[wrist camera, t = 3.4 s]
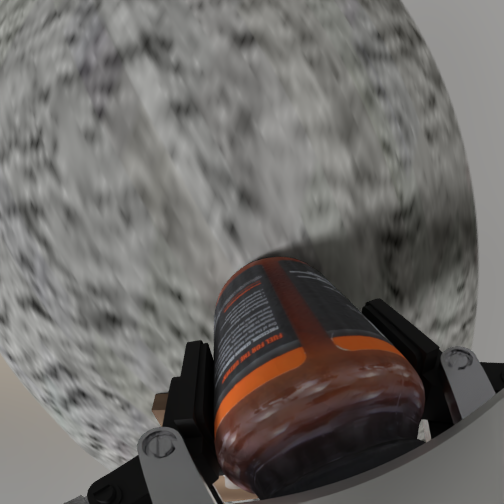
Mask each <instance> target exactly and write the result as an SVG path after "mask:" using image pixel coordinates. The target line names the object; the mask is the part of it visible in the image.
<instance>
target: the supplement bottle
mask: <svg viewBox="0 0 504 504" xmlns="http://www.w3.org/2000/svg"><path fill="white" fill-rule="evenodd" d="M213 372H214V376H213V383H214V388H213V391H214V403H213V412H214V434H215V449H216V455H217V459H218V463H219V465H220V467H221V469H222V471H223V473H224V474H225V476H226V477H227V478H228V479H229V480H230V481H231V482H233V484H235V485H236V486H238V487H240V488H241V489H243V490H245V491H247V492H249V493H252V494H255V495H257V497H258V498H259V499H260V500H265V499H271V498H277V497H282V496H287V495H291V494H296V493H300V492H304V491H308V490H312V489H315V488H319V487H322V486H326V485H329V484H332V483H336V482H339V481H342V480H345V479H347V478H350V477H353V476H356V475H358V474H361V473H364V472H366V471H369V470H371V469H374V468H376V467H378V466H381V465H383V464H385V463H387V462H389V461H392V460H394V459H396V458H398V457H400V456H402V455H404V454H406V453H408V452H410V451H412V450H414V449H415V448H417V447H419V446H421V445H423V444H425V443H426V442H424V441H420V440H419V439H417V436H418V429H419V423H420V421H421V419H422V416H423V413H424V406H425V391H424V386H423V383H422V380H421V379H420V377H419V375H418V373H417V372H416V371H415V369H414V368H413V367H412V365H411V364H410V363H409V362H408V360H407V359H406V358H405V357H404V356H403V355H402V354H401V353H400V352H399V351H398V350H397V349H396V348H395V347H394V345H393V344H392V343H391V342H390V341H389V340H388V339H387V338H386V337H385V336H384V335H383V334H382V333H381V332H380V331H379V330H378V329H377V328H376V327H375V326H374V325H373V324H372V323H371V322H370V321H369V320H368V319H367V318H366V317H365V316H364V315H363V314H362V313H361V312H360V311H359V310H358V309H357V308H356V307H355V306H354V305H353V304H352V303H351V302H350V301H349V300H348V299H347V298H346V297H345V296H343V295H342V293H341V292H339V291H338V290H337V289H336V288H335V287H334V286H333V285H332V284H331V283H330V282H329V281H328V280H327V279H326V278H325V277H324V276H323V275H322V274H321V273H319V272H318V271H317V270H315V269H314V268H313V267H311V266H309V265H308V264H306V263H304V262H302V261H300V260H297V259H294V258H288V257H270V258H265V259H260V260H257V261H254V262H252V263H249V264H248V265H246V266H244V267H243V268H241V269H240V270H239V271H237V272H236V273H235V274H234V275H233V276H232V277H231V278H230V279H229V280H228V281H227V283H226V284H225V285H224V287H223V289H222V290H221V292H220V294H219V297H218V300H217V303H216V309H215V315H214V367H213Z"/></svg>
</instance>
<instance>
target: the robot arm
mask: <svg viewBox="0 0 504 504" xmlns="http://www.w3.org/2000/svg"><path fill="white" fill-rule="evenodd" d="M362 314H363V315H364V316H365V317H366V318H367V319H368V320H369V321H370V322H371V323H372V324H373V325H374V326H375V327H376V328H377V329H378V330H379V331H380V332H381V333H382V334H383V335H384V336H385V337H386V338H387V339H388V340H389V341H390V342H391V343H392V344H393V345H394V347H395V348H396V349H397V350H398V351H399V352H400V353H401V354H402V355H403V356H404V357H405V358H406V359H407V360H408V362H409V363H410V364H411V365H412V367H413V368H414V369H415V371H416V372H417V373H418V375H419V377H420V379H421V380H422V383H423V386H424V391H425V406H424V413H423V416H422V422H423V427H424V432H425V438H426V443H425V444H423V445H421V446H419V447H417V448H415V449H414V450H412V451H410V452H408V453H406V454H404V455H402V456H400V457H398V458H396V459H394V460H392V461H389V462H387V463H385V464H383V465H381V466H378V467H376V468H374V469H371V470H369V471H366V472H364V473H361V474H358V475H356V476H353V477H350V478H347V479H345V480H342V481H339V482H336V483H332V484H329V485H326V486H322V487H319V488H315V489H312V490H308V491H304V492H300V493H296V494H291V495H287V496H282V497H277V498H271V499H265V500H259V501H252V502H244V503H234V504H504V363H486V362H479V360H478V359H477V357H476V355H475V354H474V353H473V351H471V350H470V349H468V348H465V347H460V346H456V347H451V348H448V349H446V350H445V351H444V352H441V351H440V350H439V346H438V345H437V344H435V343H434V342H433V341H432V340H431V339H429V338H428V337H427V336H426V335H425V334H423V333H422V332H421V331H420V330H419V329H417V328H416V327H415V326H414V325H412V324H411V323H410V322H409V321H408V320H406V319H405V318H404V317H403V316H401V315H400V314H399V313H398V312H396V311H395V310H394V309H393V308H391V307H390V306H389V305H388V304H386V303H385V302H384V301H383V300H381V299H380V298H379V299H375V300H372V301H369V302H367V303H366V305H365V306H364V307H363V308H362ZM213 367H214V360H213V357H212V354H211V351H210V348H209V345H208V343H204V344H203V342H202V340H199V341H193V342H187V344H186V349H185V355H184V360H183V366H182V371H181V377H173V378H172V380H171V384H170V389H169V394H168V398H167V403H166V409H165V414H164V419H163V424H162V427H158V428H153V429H151V430H149V431H147V432H146V433H144V434H143V435H142V436H141V438H140V439H139V441H138V444H137V451H138V455H137V456H136V457H134V458H133V459H131V460H130V461H128V462H127V463H125V464H124V465H122V466H120V467H119V468H117V469H115V470H114V471H112V472H111V473H109V474H107V475H106V476H104V477H102V478H100V479H99V480H97V481H96V482H94V483H93V484H92V485H91V486H90V488H89V490H88V493H87V496H86V497H83V496H82V495H80V496H78V497H76V498H75V499H72V500H70V501H68V502H66V503H64V504H225V503H224V501H223V499H222V498H221V496H220V494H219V493H218V491H217V489H216V487H215V486H214V484H213V483H215V482H216V481H217V480H218V479H219V476H223V475H225V474H224V473H223V471H222V469H221V467H220V465H219V463H218V459H217V455H216V449H215V434H214V412H213V403H214V391H213V388H214V383H213V376H214V372H213Z"/></svg>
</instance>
